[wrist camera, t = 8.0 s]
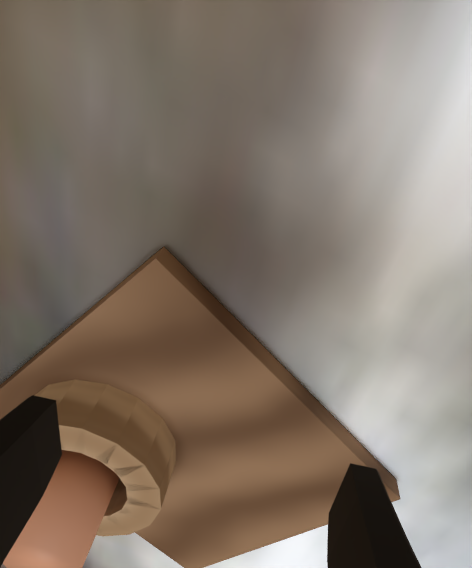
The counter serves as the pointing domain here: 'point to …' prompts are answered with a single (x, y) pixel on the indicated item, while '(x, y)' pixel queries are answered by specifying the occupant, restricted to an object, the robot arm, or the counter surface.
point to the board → (206, 414)
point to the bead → (118, 448)
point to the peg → (65, 515)
